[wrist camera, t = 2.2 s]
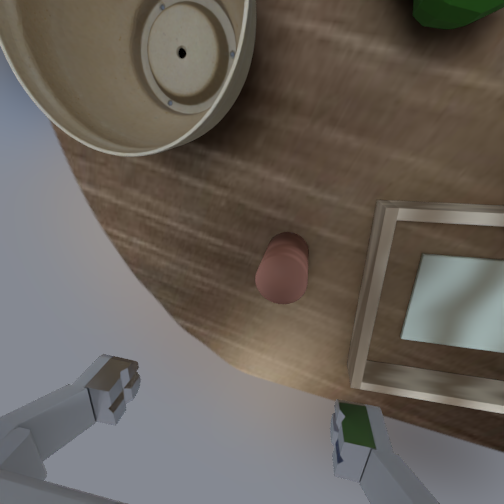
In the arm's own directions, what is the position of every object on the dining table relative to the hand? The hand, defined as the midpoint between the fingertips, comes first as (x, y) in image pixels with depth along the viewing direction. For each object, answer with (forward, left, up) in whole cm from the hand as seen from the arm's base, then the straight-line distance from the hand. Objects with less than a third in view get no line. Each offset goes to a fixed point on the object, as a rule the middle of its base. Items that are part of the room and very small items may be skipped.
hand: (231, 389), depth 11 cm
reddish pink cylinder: (-1, +2, -20) cm, 20 cm away
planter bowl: (+9, -16, -20) cm, 27 cm away
